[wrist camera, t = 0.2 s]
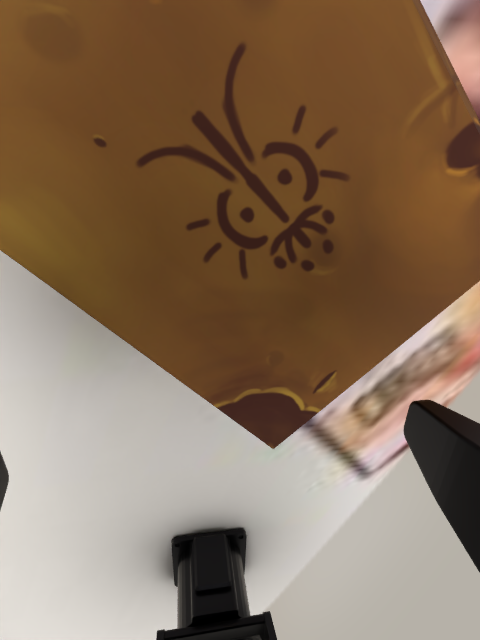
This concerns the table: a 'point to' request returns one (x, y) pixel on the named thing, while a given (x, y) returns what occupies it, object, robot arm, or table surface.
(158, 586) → the table surface
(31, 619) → the table surface
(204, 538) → the robot arm
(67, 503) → the table surface
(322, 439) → the table surface
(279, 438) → the diary
